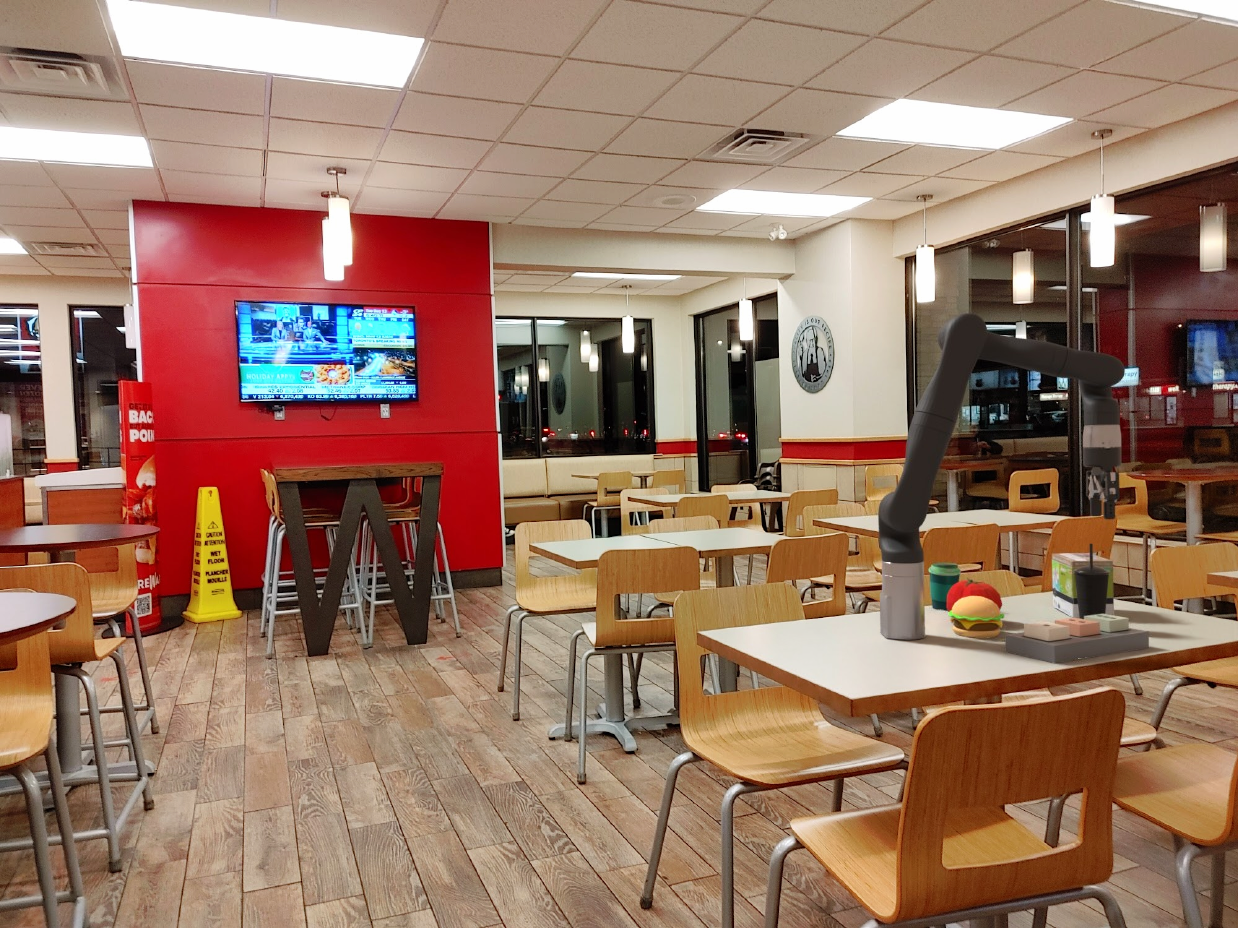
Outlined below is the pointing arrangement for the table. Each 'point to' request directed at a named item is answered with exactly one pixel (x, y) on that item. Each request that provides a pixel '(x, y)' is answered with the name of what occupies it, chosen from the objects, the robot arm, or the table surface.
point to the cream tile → (1046, 631)
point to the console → (1077, 645)
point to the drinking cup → (1091, 588)
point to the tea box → (1066, 581)
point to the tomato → (972, 592)
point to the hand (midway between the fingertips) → (1102, 517)
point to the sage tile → (1110, 622)
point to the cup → (942, 582)
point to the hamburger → (976, 617)
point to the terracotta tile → (1080, 626)
